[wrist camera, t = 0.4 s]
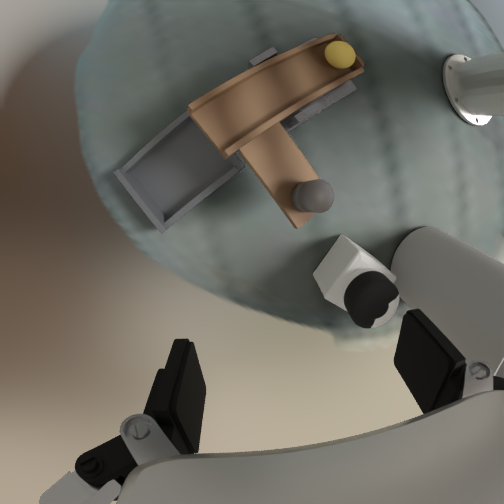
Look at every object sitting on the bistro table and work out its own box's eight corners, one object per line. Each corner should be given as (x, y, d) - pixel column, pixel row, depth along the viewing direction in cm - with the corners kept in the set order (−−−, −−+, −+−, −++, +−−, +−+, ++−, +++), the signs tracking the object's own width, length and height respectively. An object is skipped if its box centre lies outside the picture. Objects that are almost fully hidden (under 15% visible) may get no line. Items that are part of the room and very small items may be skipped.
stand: (315, 38, 28) (329, 15, 21) (356, 89, 30) (379, 77, 23) (240, 81, 30) (238, 63, 23) (284, 135, 32) (293, 130, 26)
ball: (334, 44, 25) (347, 32, 22) (351, 66, 26) (366, 56, 23) (314, 53, 25) (326, 41, 22) (332, 76, 26) (346, 66, 23)
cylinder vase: (397, 311, 41) (479, 418, 18) (378, 248, 38) (494, 352, 14) (452, 275, 39) (546, 354, 16) (440, 212, 36) (566, 273, 12)
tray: (197, 107, 31) (192, 102, 28) (244, 167, 34) (244, 168, 30) (125, 170, 33) (113, 172, 30) (168, 226, 36) (161, 233, 33)
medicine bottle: (311, 274, 39) (334, 321, 27) (340, 232, 37) (377, 265, 25) (347, 296, 40) (377, 344, 29) (376, 258, 38) (417, 296, 27)
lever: (326, 40, 26) (341, 26, 22) (395, 139, 30) (416, 135, 26) (186, 112, 23) (189, 97, 20) (283, 237, 28) (299, 241, 24)
